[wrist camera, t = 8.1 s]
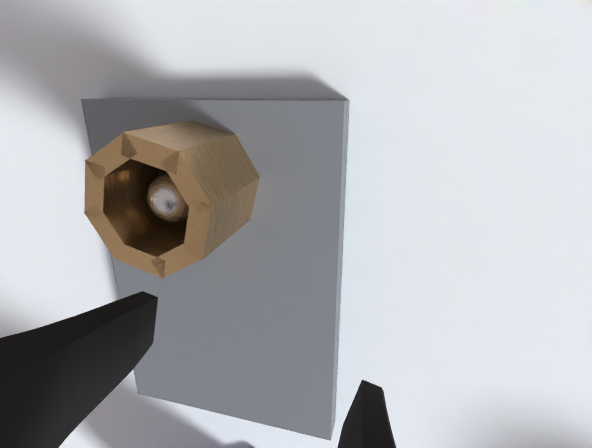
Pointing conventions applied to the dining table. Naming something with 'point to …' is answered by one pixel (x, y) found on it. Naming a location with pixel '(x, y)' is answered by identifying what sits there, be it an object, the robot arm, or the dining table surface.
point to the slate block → (251, 267)
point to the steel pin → (167, 200)
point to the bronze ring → (189, 181)
